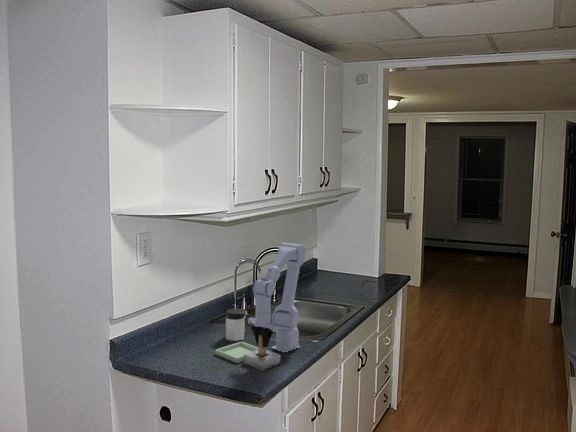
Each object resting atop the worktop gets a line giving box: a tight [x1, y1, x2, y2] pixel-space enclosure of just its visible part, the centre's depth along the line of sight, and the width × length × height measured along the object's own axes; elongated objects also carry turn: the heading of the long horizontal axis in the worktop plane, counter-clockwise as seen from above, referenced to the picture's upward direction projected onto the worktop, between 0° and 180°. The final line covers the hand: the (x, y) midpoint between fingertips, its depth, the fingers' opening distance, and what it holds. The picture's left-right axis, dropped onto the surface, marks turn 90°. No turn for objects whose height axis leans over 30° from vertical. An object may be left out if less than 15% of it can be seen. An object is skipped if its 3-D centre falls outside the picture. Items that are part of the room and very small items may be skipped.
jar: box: [225, 308, 246, 342], centre depth 244 cm, size 9×8×12 cm
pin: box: [257, 334, 267, 357], centre depth 216 cm, size 3×3×9 cm
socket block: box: [243, 349, 281, 371], centre depth 216 cm, size 10×10×4 cm
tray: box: [214, 341, 258, 364], centre depth 225 cm, size 14×13×2 cm
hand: (262, 345), depth 216 cm, fingers closed on pin, 3 cm apart
